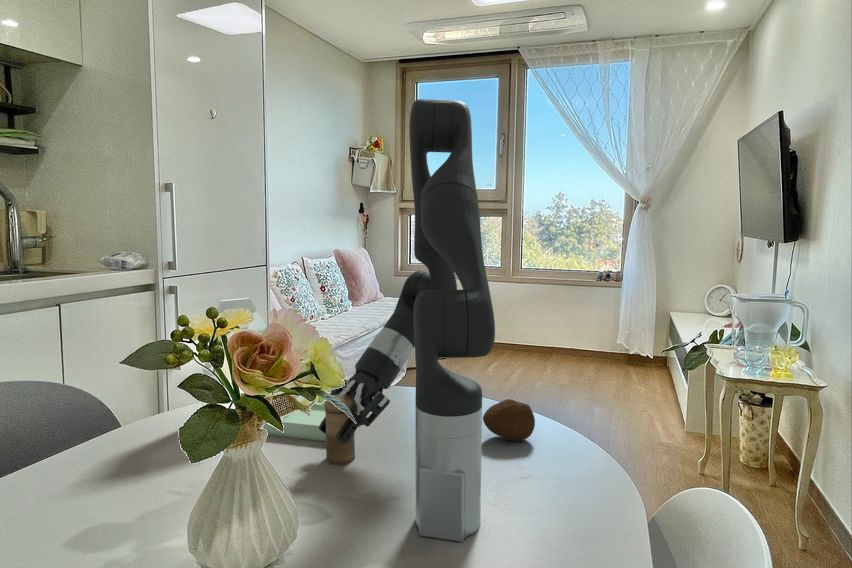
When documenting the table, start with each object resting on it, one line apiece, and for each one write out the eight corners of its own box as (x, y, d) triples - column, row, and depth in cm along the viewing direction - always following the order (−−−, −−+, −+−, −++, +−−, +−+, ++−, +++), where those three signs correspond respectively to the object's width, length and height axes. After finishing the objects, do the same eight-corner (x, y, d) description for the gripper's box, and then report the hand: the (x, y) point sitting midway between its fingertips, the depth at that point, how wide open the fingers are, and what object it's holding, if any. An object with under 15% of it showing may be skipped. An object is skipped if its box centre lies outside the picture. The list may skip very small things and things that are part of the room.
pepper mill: (348, 466, 96) (347, 405, 94) (321, 462, 97) (319, 402, 96) (359, 453, 101) (358, 395, 99) (333, 450, 102) (332, 393, 101)
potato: (538, 446, 104) (539, 406, 103) (487, 448, 103) (487, 407, 102) (527, 431, 111) (528, 393, 110) (479, 433, 110) (479, 394, 109)
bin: (338, 442, 105) (338, 427, 105) (264, 434, 109) (263, 419, 109) (368, 413, 121) (368, 400, 120) (302, 407, 125) (301, 394, 124)
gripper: (350, 339, 107) (296, 414, 100) (397, 353, 96) (340, 438, 90) (373, 361, 111) (322, 434, 104) (420, 377, 100) (367, 459, 94)
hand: (331, 436), depth 97 cm, fingers closed on pepper mill, 5 cm apart
